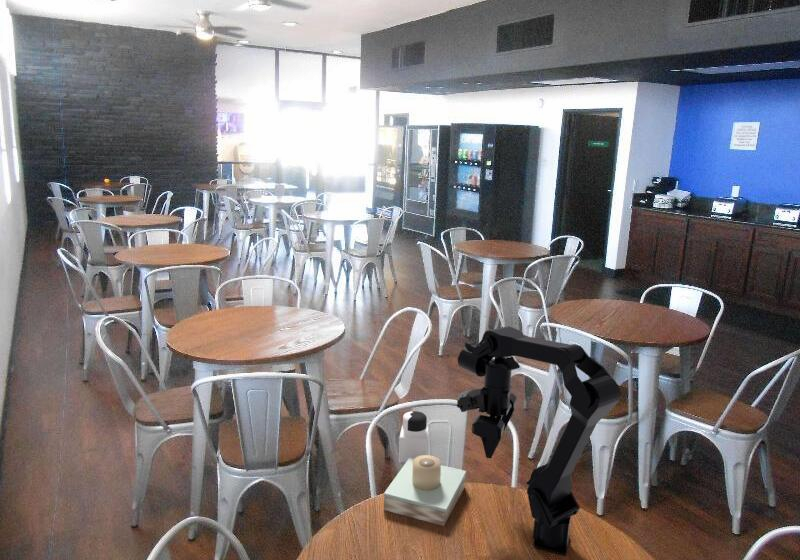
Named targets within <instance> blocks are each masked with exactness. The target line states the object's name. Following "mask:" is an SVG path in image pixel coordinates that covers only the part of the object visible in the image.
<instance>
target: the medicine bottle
mask: <svg viewBox="0 0 800 560" xmlns="http://www.w3.org/2000/svg"><path fill="white" fill-rule="evenodd" d="M427 419H428V418H427V415H426V414H425V413H423V412H421V411H418V410H415V411H414V410H413V411H412V410H411V411H408V412H406V413H404V414H403V416H402V425H401V429H400V433H399V439H398V442H399V443H398V462H399V464H405V463H406V462H407V460H408V459H409V458H413V459H415V458H416V457H418V456H421V455H429V437H430V435H429V431H430V427H428V426H427V423H428V422H427Z"/></svg>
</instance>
